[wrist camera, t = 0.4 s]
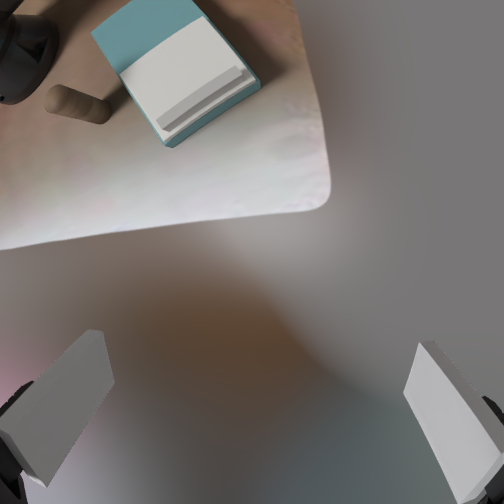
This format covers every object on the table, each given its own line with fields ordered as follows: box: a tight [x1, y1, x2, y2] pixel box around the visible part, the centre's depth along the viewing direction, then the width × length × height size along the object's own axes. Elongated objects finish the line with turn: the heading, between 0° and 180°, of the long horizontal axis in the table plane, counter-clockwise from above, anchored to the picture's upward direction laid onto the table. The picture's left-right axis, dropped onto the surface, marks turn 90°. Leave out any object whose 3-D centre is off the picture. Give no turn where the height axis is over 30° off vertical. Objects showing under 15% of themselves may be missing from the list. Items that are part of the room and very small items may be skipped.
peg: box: [44, 84, 112, 124], centre depth 27 cm, size 3×3×10 cm
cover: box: [120, 16, 256, 142], centre depth 26 cm, size 10×11×3 cm
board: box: [91, 0, 261, 148], centre depth 28 cm, size 20×12×3 cm, turn 34°
